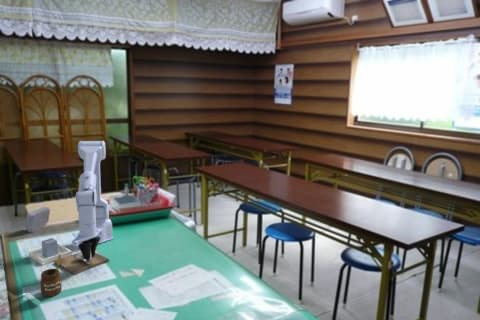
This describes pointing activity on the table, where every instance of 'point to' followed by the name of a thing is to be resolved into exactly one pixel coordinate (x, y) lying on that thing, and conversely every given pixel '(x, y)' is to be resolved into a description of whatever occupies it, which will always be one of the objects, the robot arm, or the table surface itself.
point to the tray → (40, 258)
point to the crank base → (80, 263)
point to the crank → (80, 258)
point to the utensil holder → (51, 281)
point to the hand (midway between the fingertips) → (89, 258)
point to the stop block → (49, 248)
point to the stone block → (37, 219)
